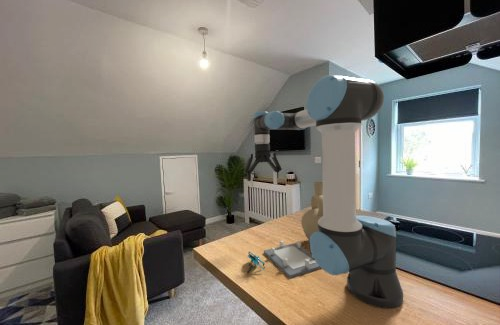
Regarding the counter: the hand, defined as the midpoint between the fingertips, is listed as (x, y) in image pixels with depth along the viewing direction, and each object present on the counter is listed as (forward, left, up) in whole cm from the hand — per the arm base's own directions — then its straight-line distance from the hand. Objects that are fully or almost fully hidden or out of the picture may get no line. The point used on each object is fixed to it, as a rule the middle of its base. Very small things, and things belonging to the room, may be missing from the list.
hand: (263, 185), depth 104 cm
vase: (-14, -22, -29) cm, 39 cm away
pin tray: (-21, -2, -28) cm, 36 cm away
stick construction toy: (-22, +13, -29) cm, 39 cm away
